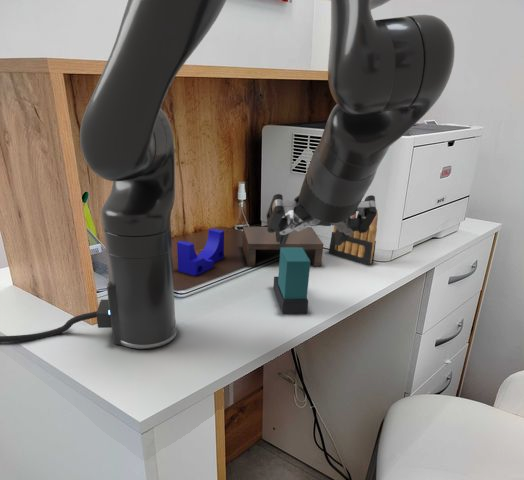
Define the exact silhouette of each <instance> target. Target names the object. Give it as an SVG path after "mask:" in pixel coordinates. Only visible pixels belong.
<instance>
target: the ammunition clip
mask: <svg viewBox="0 0 524 480" xmlns="http://www.w3.org/2000/svg"><path fill="white" fill-rule="evenodd" d="M376 211H377V214H376V216H375V218H374V220H373V221H372V223H371V225H370V227H369V229H368V230H367V232H365V233H359V231H354V233H353V234H352V235H350V236H349V237H348V239H347V241H345V242H343V243H342V244H341V245H336V243H335V231H336V229H337V228H336V227H335V226H333V229H332V231H331V236H330V242H329V247H328V248H329V249H328V254H330V255H332V256H336V257H339V258H343V259H346V260H349V261H353V262H356V263H359V264H363V265H366V266H370V265H372V264H374V259H375V251H376V244H377V243H376V242H377V241H376V239H377V238H376V237H377V232H378V219H379V218H378V217H379V216H378V215H379V213H378V212H379V211H378V209H377V208H376ZM357 212H358V211H357ZM357 212H356V213H355V214H354V215H352V216H351V217H352V218H357V214H358V213H359V212H358V213H357Z"/></svg>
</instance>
